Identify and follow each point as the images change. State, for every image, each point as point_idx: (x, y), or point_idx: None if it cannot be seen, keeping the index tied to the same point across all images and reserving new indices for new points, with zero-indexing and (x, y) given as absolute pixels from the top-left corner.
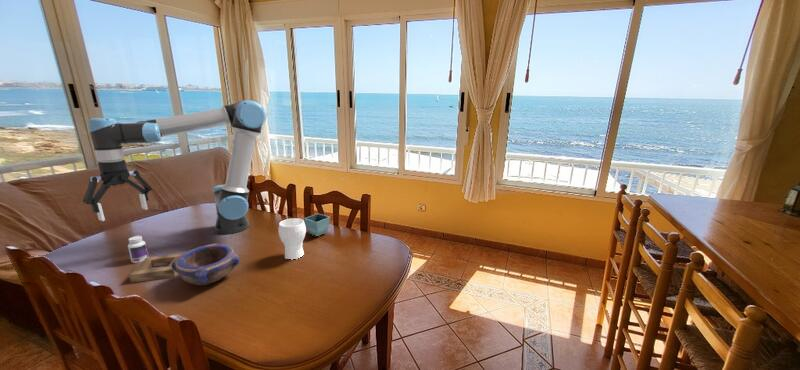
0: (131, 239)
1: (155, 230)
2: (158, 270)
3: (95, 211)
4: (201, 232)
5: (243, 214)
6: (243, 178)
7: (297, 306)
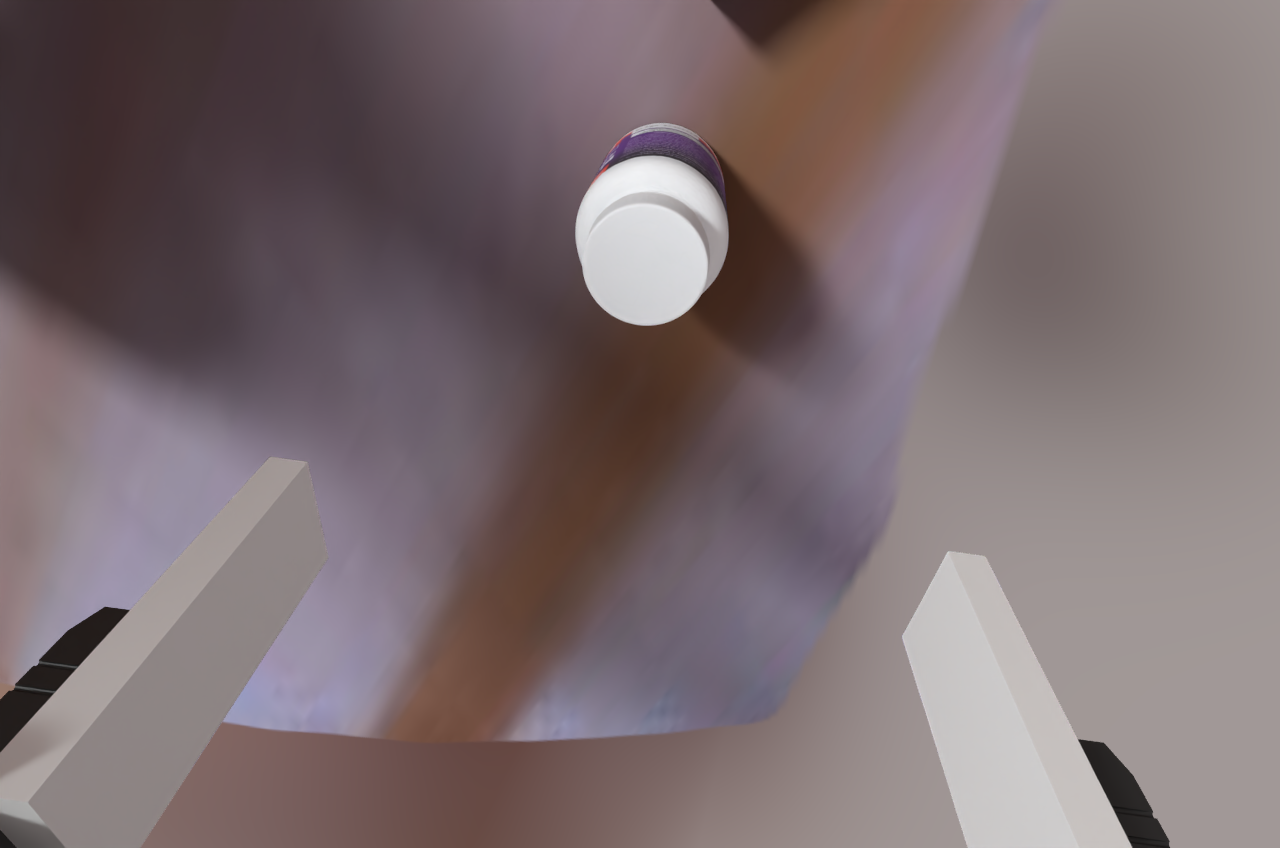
0: (695, 255)
1: None
2: None
3: (1121, 776)
4: (70, 216)
5: None
6: None
7: None
